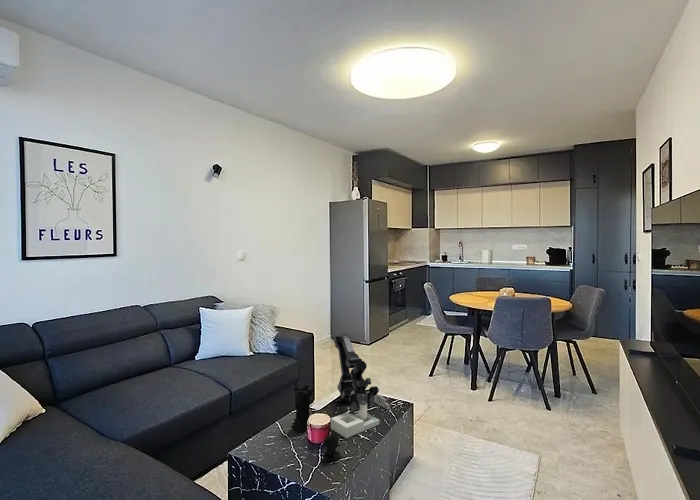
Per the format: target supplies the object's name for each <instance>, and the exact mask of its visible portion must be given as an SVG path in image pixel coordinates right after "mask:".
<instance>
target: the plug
mask: <svg viewBox="0 0 700 500" xmlns="http://www.w3.org/2000/svg"><path fill="white" fill-rule="evenodd" d="M358 403H359V408H360V409H359V410H358V413H359V419H361V420H363V421H364V422H365V421H367V414H368V407H367V403H366V399H364V398H362V399H360V402H358Z"/></svg>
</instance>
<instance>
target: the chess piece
mask: <svg viewBox="0 0 700 500" xmlns="http://www.w3.org/2000/svg"><path fill="white" fill-rule="evenodd" d="M293 390H294V395H295V396H296V397H295V401H296V406H295V407H296V409H295V412H296V413H295V418H294V419H293V422H292V425H291V429H293V430H294V432H295V433H296V434H297V435H300V433H302V434H304V432H306V429H307V420H308V418H309V419H310V403H311V402H312V400H311V397H312V396H313V392H314V389H313V388H309V384H304V385H303V387H301V388H299V387H298V386H297V385H296V386H293ZM306 433H307V432H306Z"/></svg>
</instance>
